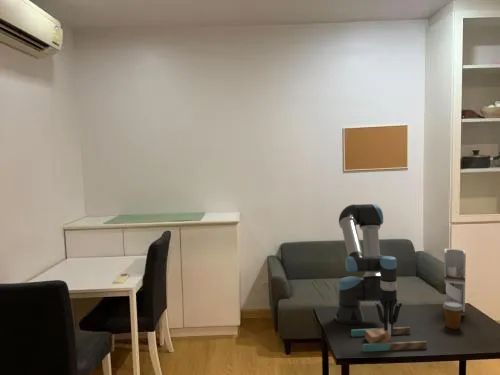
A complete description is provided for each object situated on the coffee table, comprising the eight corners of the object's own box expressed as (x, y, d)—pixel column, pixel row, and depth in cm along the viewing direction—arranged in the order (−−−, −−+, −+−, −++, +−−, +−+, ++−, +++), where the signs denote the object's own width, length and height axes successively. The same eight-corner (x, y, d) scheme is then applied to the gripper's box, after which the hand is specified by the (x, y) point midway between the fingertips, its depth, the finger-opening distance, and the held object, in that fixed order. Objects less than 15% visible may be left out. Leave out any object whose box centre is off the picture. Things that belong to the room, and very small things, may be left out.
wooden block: (371, 346, 209) (371, 337, 208) (365, 339, 217) (365, 330, 217) (390, 345, 209) (390, 336, 209) (382, 338, 218) (382, 329, 218)
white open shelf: (443, 307, 261) (444, 248, 259) (463, 309, 257) (464, 249, 255) (444, 313, 251) (444, 252, 249) (464, 315, 247) (465, 253, 244)
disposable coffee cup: (461, 331, 225) (461, 308, 224) (441, 327, 230) (441, 305, 229) (463, 325, 233) (464, 302, 232) (444, 321, 238) (444, 300, 237)
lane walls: (389, 350, 204) (389, 344, 204) (374, 334, 223) (374, 328, 222) (426, 348, 205) (426, 342, 205) (408, 332, 224) (409, 326, 224)
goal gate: (363, 351, 203) (363, 345, 203) (351, 335, 222) (351, 329, 222) (389, 350, 204) (389, 344, 204) (374, 334, 223) (374, 328, 222)
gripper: (378, 291, 208) (378, 340, 209) (404, 290, 209) (404, 339, 210) (372, 287, 215) (372, 334, 217) (398, 286, 216) (398, 333, 218)
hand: (388, 336), depth 213 cm, fingers closed
